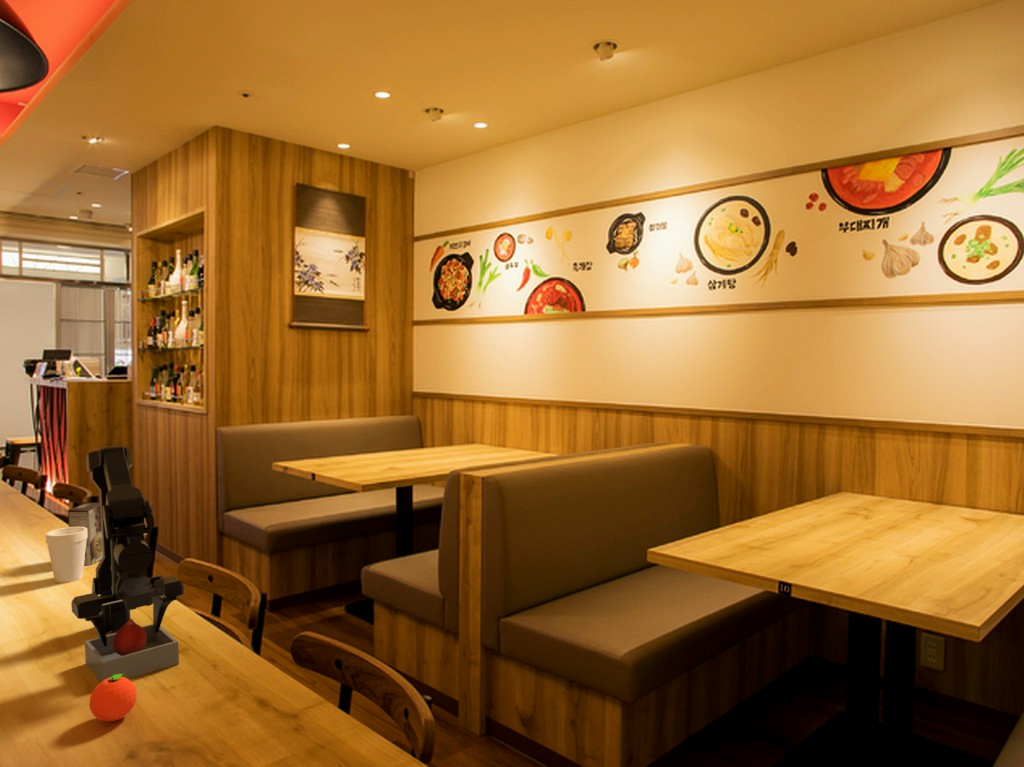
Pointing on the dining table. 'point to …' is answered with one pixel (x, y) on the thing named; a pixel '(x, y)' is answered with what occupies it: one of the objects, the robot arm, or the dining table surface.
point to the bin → (132, 655)
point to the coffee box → (89, 529)
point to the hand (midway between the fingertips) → (131, 638)
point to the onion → (129, 639)
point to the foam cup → (67, 552)
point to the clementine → (113, 698)
